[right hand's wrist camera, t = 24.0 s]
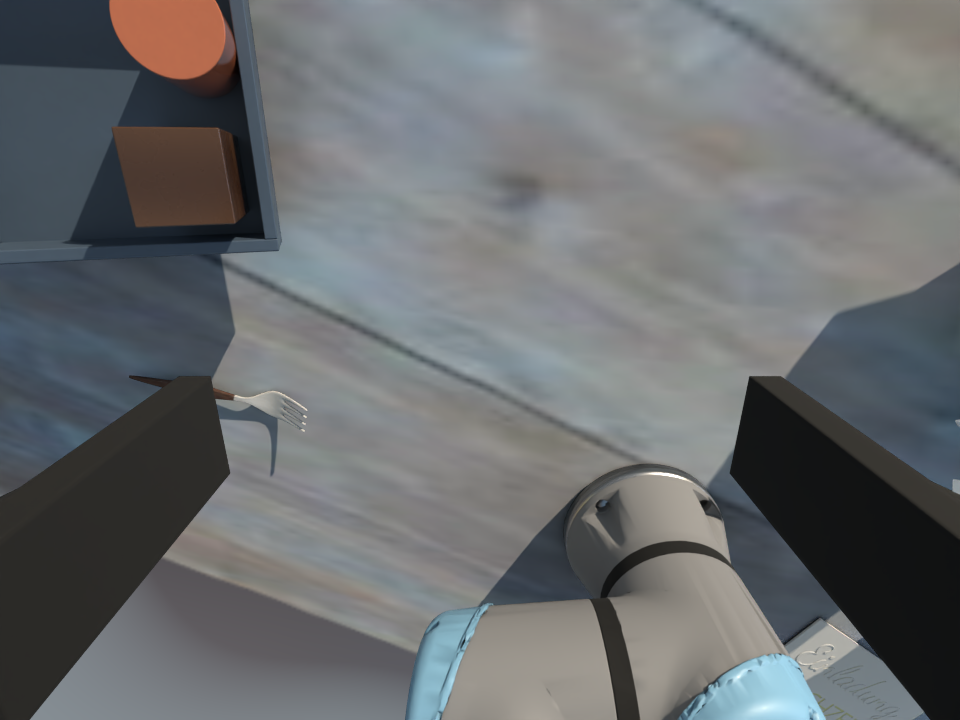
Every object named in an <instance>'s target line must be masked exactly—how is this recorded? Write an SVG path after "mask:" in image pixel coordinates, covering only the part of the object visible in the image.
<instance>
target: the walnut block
mask: <svg viewBox="0 0 960 720" xmlns="http://www.w3.org/2000/svg"><path fill="white" fill-rule="evenodd" d="M111 129H112V133H113V137H114V141H115V146H116V150H117V154H118V158H119V162H120V166H121V170H122V174H123V178H124V182H125V186H126V190H127V194H128V198H129V203H130V207H131V211H132V215H133V219H134V223H135V226H136V227H137V228H142V227H168V226H194V225H219V224H235V223H236V222H238V221H239V220H240V219H241V218H242V217H243V216H245V215H246V214H247V213H248V212H249V205H248V198H247V192H246V186H245V180H244V174H243V168H242V162H241V156H240V150H239V144H238V138H237V136H236V135H234V134H231V133H229V132H226V131H224V130H222V129H219V128H206V127H111Z"/></svg>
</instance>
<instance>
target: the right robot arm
mask: <svg viewBox="0 0 960 720" xmlns="http://www.w3.org/2000/svg"><path fill="white" fill-rule="evenodd" d="M229 474H230V469H229V465H228V460H227V455H226V450H225V445H224V440H223V435H222V430H221V425H220V420H219V415H218V410H217V406H216V401H215V396H214V391H213V386H212V381H211V376H179V377H177V378H176V379H175V380H173V381H172V382H170V383H169V384H167V385H166V386H165V387H163V388H162V389H160V390H159V391H157V392H156V393H155V394H153V395H152V396H150V397H149V398H147V399H146V400H145V401H143V402H142V403H140V404H139V405H137V406H136V407H134V408H133V409H132V410H130V411H129V412H127V413H126V414H124V415H123V416H122V417H120V418H119V419H117V420H116V421H114V422H113V423H112V424H110V425H109V426H107V427H106V428H104V429H103V430H101V431H100V432H99V433H97V434H96V435H94V436H93V437H91V438H90V439H89V440H87V441H86V442H84V443H83V444H81V445H80V446H79V447H77V448H76V449H74V450H73V451H71V452H70V453H69V454H67V455H66V456H64V457H63V458H61V459H60V460H58V461H57V462H56V463H54V464H53V465H51V466H50V467H48V468H47V469H46V470H44V471H43V472H41V473H40V474H38V475H37V476H36V477H34V478H33V479H31V480H30V481H28V482H27V483H26V484H24V485H23V486H21V487H20V488H18V489H16V490H14V491H12V492H9V493H7V494H5V495H3V496H1V497H0V720H30V719H31V717H32V716H33V715H34V714H35V712H36V711H37V710H38V709H39V707H40V706H41V705H42V704H43V703H44V701H45V700H46V699H47V698H48V696H49V695H50V694H51V693H52V692H53V690H54V689H55V688H56V687H57V685H58V684H59V683H60V682H61V681H62V679H63V678H64V677H65V676H66V674H67V673H68V672H69V671H70V669H71V668H72V667H73V666H74V665H75V663H76V662H77V661H78V660H79V658H80V657H81V656H82V655H83V653H84V652H85V651H86V650H87V649H88V647H89V646H90V645H91V644H92V642H93V641H94V640H95V639H96V638H97V636H98V635H99V634H100V633H101V631H102V630H103V629H104V628H105V626H106V625H107V624H108V623H109V622H110V620H111V619H112V618H113V617H114V615H115V614H116V613H117V612H118V610H119V609H120V608H121V607H122V606H123V604H124V603H125V602H126V601H127V599H128V598H129V597H130V596H131V595H132V593H133V592H134V591H135V590H136V588H137V587H138V586H139V585H140V583H141V582H142V581H143V580H144V579H145V577H146V576H147V575H148V574H149V572H150V571H151V570H152V569H153V568H154V566H155V565H156V564H157V563H158V561H159V560H160V559H161V558H162V556H163V555H164V554H165V553H166V552H167V550H168V549H169V548H170V547H171V545H172V544H173V543H174V542H175V541H176V539H177V538H178V537H179V536H180V534H181V533H182V532H183V531H184V529H185V528H186V527H187V526H188V525H189V523H190V522H191V521H192V520H193V518H194V517H195V516H196V515H197V513H198V512H199V511H200V510H201V509H202V507H203V506H204V505H205V504H206V502H207V501H208V500H209V499H210V498H211V496H212V495H213V494H214V493H215V491H216V490H217V489H218V488H219V486H220V485H221V484H222V483H223V482H224V480H225V479H226V478H227V477H228V475H229ZM730 474H731V475H732V477H733V478H734V479H735V480H736V482H737V483H738V484H739V485H740V486H741V488H742V489H743V490H744V491H745V493H746V494H747V495H748V496H749V498H750V499H751V500H752V501H753V502H754V504H755V505H756V506H757V507H758V509H759V510H760V511H761V512H762V513H763V515H764V516H765V517H766V518H767V520H768V521H769V522H770V523H771V525H772V526H773V527H774V528H775V529H776V531H777V532H778V533H779V534H780V536H781V537H782V538H783V539H784V541H785V542H786V543H787V544H788V545H789V547H790V548H791V549H792V550H793V552H794V553H795V554H796V555H797V556H798V558H799V559H800V560H801V561H802V563H803V564H804V565H805V566H806V568H807V569H808V570H809V571H810V572H811V574H812V575H813V576H814V577H815V579H816V580H817V581H818V582H819V584H820V585H821V586H822V587H823V588H824V590H825V591H826V592H827V593H828V595H829V596H830V597H831V598H832V599H833V601H834V602H835V603H836V604H837V606H838V607H839V608H840V609H841V611H842V612H843V613H844V614H845V615H846V617H847V618H848V619H849V620H850V622H851V623H852V624H853V625H854V626H855V628H856V629H857V630H858V631H859V633H860V634H861V635H862V636H863V638H864V639H865V640H866V641H867V642H868V644H869V645H870V646H871V647H872V649H873V650H874V651H875V652H876V654H877V655H878V656H879V657H880V658H881V660H882V661H883V662H884V663H885V665H886V666H887V667H888V668H889V669H890V671H891V672H892V673H893V674H894V676H895V677H896V678H897V679H898V681H899V682H900V683H901V684H902V685H903V687H904V688H905V689H906V690H907V692H908V693H909V694H910V695H911V697H912V698H913V699H914V700H915V701H916V703H917V704H918V705H919V706H920V708H921V709H922V710H923V711H924V712H925V714H926V715H927V716H928V717H929V719H930V720H960V494H958V493H955V492H953V491H951V490H949V489H947V488H945V487H943V486H940V485H938V484H936V483H934V482H932V481H930V480H929V479H927V478H926V477H924V476H923V475H922V474H920V473H919V472H917V471H916V470H914V469H913V468H912V467H910V466H909V465H907V464H906V463H904V462H903V461H902V460H900V459H899V458H897V457H896V456H894V455H893V454H891V453H890V452H889V451H887V450H886V449H884V448H883V447H881V446H880V445H879V444H877V443H876V442H874V441H873V440H871V439H870V438H869V437H867V436H866V435H864V434H863V433H861V432H860V431H858V430H857V429H856V428H854V427H853V426H851V425H850V424H848V423H847V422H846V421H844V420H843V419H841V418H840V417H838V416H837V415H836V414H834V413H833V412H831V411H830V410H828V409H827V408H826V407H824V406H823V405H821V404H820V403H818V402H817V401H815V400H814V399H813V398H811V397H810V396H808V395H807V394H805V393H804V392H803V391H801V390H800V389H798V388H797V387H795V386H794V385H793V384H791V383H790V382H788V381H787V380H785V379H784V378H783V377H781V376H749V381H748V386H747V391H746V396H745V401H744V405H743V410H742V415H741V420H740V425H739V430H738V435H737V440H736V445H735V450H734V455H733V460H732V465H731V469H730ZM564 543H565V547H566V552H567V556H568V560H569V563H570V565H571V567H572V569H573V571H574V573H575V574H576V575H577V577H578V578H579V579H580V581H581V582H582V583H583V585H584V586H585V588H586V589H587V590H588V592H589V593H590V594H591V596H592V597H593V598H594V599H579V600H565V601H550V602H536V603H522V604H508V605H493V603H485V604H483V605H482V606H480V607H473V608H465V609H457V610H450V611H446V612H443V613H441V614H440V615H438V616H437V617H436V618H435V619H434V620H433V621H432V622H431V623H430V625H429V626H428V628H427V629H426V631H425V634H424V636H423V638H422V640H421V643H420V646H419V650H418V653H417V656H416V660H415V664H414V669H413V673H412V678H411V683H410V689H409V695H408V702H407V709H406V717H405V720H826V719H825V716H824V714H823V712H822V711H821V709H820V707H819V705H818V703H817V701H816V699H815V697H814V696H813V694H812V692H811V690H810V688H809V686H808V684H807V683H806V681H805V679H804V675H803V672H802V670H801V668H800V666H799V665H798V663H797V662H796V661H795V660H793V659H792V658H791V656H790V655H789V653H788V652H787V650H786V649H785V647H784V646H783V644H782V642H781V641H780V639H779V638H778V636H777V635H776V633H775V632H774V630H773V628H772V627H771V625H770V624H769V622H768V621H767V619H766V618H765V616H764V614H763V613H762V611H761V610H760V608H759V607H758V605H757V604H756V602H755V601H754V599H753V597H752V596H751V594H750V593H749V591H748V590H747V588H746V587H745V585H744V583H743V582H742V580H741V579H740V577H739V576H738V574H737V573H736V571H735V570H734V568H733V566H732V565H731V561H730V556H729V550H728V544H727V538H726V533H725V527H724V521H723V517H722V514H721V511H720V509H719V507H718V505H717V504H716V502H715V501H714V500H713V498H712V497H711V495H710V494H709V492H708V491H707V490H706V488H705V487H704V486H703V485H702V484H701V483H700V482H699V481H698V480H697V479H695V478H694V477H692V476H691V475H689V474H687V473H686V472H684V471H681V470H679V469H676V468H673V467H669V466H665V465H658V464H639V465H632V466H627V467H623V468H620V469H617V470H614V471H611V472H609V473H607V474H605V475H603V476H601V477H600V478H598V479H596V480H595V481H593V482H592V483H591V484H589V485H588V486H587V487H586V488H585V489H584V490H583V491H582V492H581V493H580V494H579V495H578V496H577V498H576V499H575V500H574V502H573V503H572V505H571V507H570V509H569V511H568V513H567V516H566V519H565V523H564Z"/></svg>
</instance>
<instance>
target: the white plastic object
mask: <svg viewBox="0 0 960 720" xmlns="http://www.w3.org/2000/svg"><path fill="white" fill-rule="evenodd" d="M955 422H956V423H957V425H958V426H959V427H960V420H955ZM952 491H953V492H955V493H958V494H960V480H956V479H953V490H952Z"/></svg>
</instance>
